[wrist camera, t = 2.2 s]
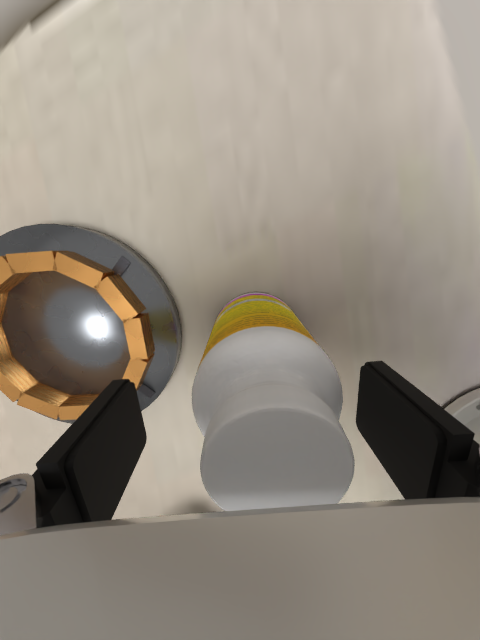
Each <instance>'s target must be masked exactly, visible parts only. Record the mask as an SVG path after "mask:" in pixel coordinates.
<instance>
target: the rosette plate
mask: <svg viewBox="0 0 480 640" xmlns="http://www.w3.org/2000/svg"><path fill="white" fill-rule="evenodd" d="M181 337H182V336H181V324H180V319H179V315H178V311H177V308H176V305H175V302H174V300H173V298H172V296H171V294H170V292H169V290H168V288H167V286H166V285H165V283H164V282H163V280H162V279H161V277H160V276H159V274H158V273H157V272H156V271H155V270H154V268H153V267H152V266H151V265H150V264H149V263H148V262H147V261H146V260H145V259H144V258H143V257H142V256H140V255H139V254H138V253H137V252H135V251H134V250H133V249H131V248H130V247H128V246H127V245H125V244H124V243H122V242H120V241H118V240H116V239H115V238H113V237H110V236H108V235H105V234H103V233H100V232H97V231H93V230H90V229H86V228H80V227H73V226H65V225H58V224H38V225H31V226H24V227H21V228H18V229H15V230H12V231H9V232H7V233H6V234H4V235H2V236H0V390H1V391H2V392H3V393H4V394H5V395H6V396H7V397H8V398H9V399H10V400H12V401H13V402H14V401H16V400H17V401H18V403H17V405H20V406H22V407H25V408H27V409H30V410H33V411H35V412H37V413H39V414H42V415H44V416H46V417H49V418H52V419H55V420H58V421H62V422H67V423H71V424H73V423H74V422H75V421H76V420H77V418H78V417H79V416H80V415H81V414H82V413H83V412H84V411H85V410H86V409H87V408H88V407H89V405H90V404H91V403H92V402H93V401H94V400H95V399H96V398H97V397H98V396H99V395H100V393H101V392H102V391H103V390H104V389H105V388H106V387H107V386H108V385H109V384H110V383H111V381H113V380H118V379H129V380H130V381H131V382H134V384H135V387H136V391H137V396H138V400H139V405H140V409H141V411H142V410H144V409H145V408H146V407H148V406H149V405H150V404H151V403H152V402H153V401H154V400H155V399H156V398H157V397H158V396H159V395H160V393H161V392H162V391H163V389H164V388H165V386H166V384H167V383H168V381H169V379H170V377H171V376H172V374H173V372H174V370H175V367H176V365H177V362H178V359H179V355H180V350H181Z"/></svg>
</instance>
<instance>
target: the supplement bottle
mask: <svg viewBox="0 0 480 640" xmlns="http://www.w3.org/2000/svg"><path fill="white" fill-rule="evenodd" d="M342 402H343V397H342V387H341V382H340V378H339V376H338V373H337V370H336V368H335V366H334V365H333V363H332V361H331V360H330V358H329V357H328V356H327V354H326V353H325V352H324V351H323V350H322V348H321V347H320V346H319V345H318V343H317V342H316V341H315V340H314V338H313V337H312V336H311V335H310V333H309V332H308V331H307V329H306V328H305V327H304V326H303V324H302V323H301V322H300V320H299V319H298V318H297V317H296V315H295V314H294V313H293V311H292V310H291V309H290V308H289V307H288V306H287V305H286V304H285V303H284V302H283V301H282V300H280V299H279V298H277V297H275V296H272V295H270V294H266V293H257V292H256V293H247V294H243V295H240V296H238V297H236V298H234V299H233V300H231V301H230V302H229V303H227V304H226V305H225V306H224V307H223V309H222V310H221V311H220V313H219V314H218V316H217V319H216V321H215V324H214V327H213V329H212V332H211V335H210V338H209V340H208V343H207V346H206V349H205V351H204V354H203V357H202V359H201V362H200V365H199V367H198V370H197V373H196V376H195V379H194V383H193V388H192V406H193V412H194V416H195V419H196V422H197V424H198V427H199V429H200V430H201V432H202V434H203V435H204V437H205V438H204V443H203V449H202V454H201V463H200V470H201V477H202V481H203V484H204V486H205V489H206V490H207V492H208V494H209V496H210V497H211V498H212V500H213V501H214V502H215V503H216V504H217V505H218V506H219V507H220V508H221V509H222V510H224V511H237V510H251V509H265V508H280V507H295V506H310V505H325V504H337V503H338V502H339V501H340V500H341V499H342V497H343V496H344V495H345V493H346V492H347V490H348V488H349V486H350V484H351V481H352V478H353V474H354V455H353V451H352V448H351V445H350V443H349V441H348V439H347V437H346V435H345V433H344V431H343V429H342V427H341V425H340V423H339V418H340V414H341V409H342Z"/></svg>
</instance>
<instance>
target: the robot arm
mask: <svg viewBox="0 0 480 640" xmlns="http://www.w3.org/2000/svg"><path fill="white" fill-rule="evenodd" d="M356 424H357V428H358V430H359V431H360V433H361V434H362V436H363V437H364V439H365V440H366V442H367V443H368V445H369V446H370V448H371V449H372V451H373V452H374V454H375V455H376V457H377V458H378V460H379V461H380V463H381V464H382V466H383V467H384V469H385V470H386V472H387V473H388V474H389V476H390V477H391V479H392V480H393V482H394V483H395V485H396V486H397V488H398V489H399V491H400V492H401V494H402V495H403V497H404V498H405V500H389V501H373V502H357V503H341V504H325V505H310V506H295V507H280V508H265V509H251V510H237V511H223V512H208V513H195V514H182V515H169V516H155V517H142V518H129V519H116V520H111V519H112V517H113V515H114V512H115V510H116V508H117V506H118V504H119V501H120V499H121V497H122V495H123V493H124V490H125V488H126V486H127V484H128V482H129V479H130V477H131V475H132V473H133V471H134V468H135V466H136V464H137V462H138V460H139V457H140V455H141V453H142V451H143V449H144V446H145V444H146V431H145V427H144V422H143V418H142V413H141V409H140V405H139V400H138V396H137V391H136V387H135V384H134V382H131V381H130V380H129V379H118V380H113V381H111V383H110V384H109V385H108V386H107V387H106V388H105V389H104V390H103V391H102V392H101V393H100V395H99V396H98V397H97V398H96V399H95V400H94V401H93V402H92V403H91V404H90V405H89V407H88V408H87V409H86V410H85V411H84V412H83V413H82V414H81V415H80V416H79V417H78V418H77V420H76V421H75V422H74V423H73V424H72V425H71V426H70V427H69V428H68V429H67V430H66V432H65V433H64V434H63V435H62V436H61V437H60V438H59V439H58V440H57V441H56V442H55V444H54V445H53V446H52V447H51V448H50V449H49V450H48V451H47V452H46V453H45V454H44V456H43V457H42V458H41V459H40V460H39V461H38V462H37V463H36V466H37V468H38V469H37V470H36V471H35V472H34V474H33V475H29V474H16V475H12V476H9V477H7V478H4V479H2V480H0V640H480V388H479V389H476V390H473V391H471V392H469V393H467V394H465V395H463V396H461V397H459V398H458V399H456V400H455V401H454V402H452V403H451V404H449V405H448V406H447V407H446V408H445V409H443V408H442V407H440V406H439V405H438V404H437V403H435V402H434V401H433V400H431V399H430V398H429V397H428V396H426V395H425V394H424V393H422V392H421V391H420V390H419V389H417V388H416V387H415V386H414V385H412V384H411V383H410V382H408V381H407V380H406V379H405V378H403V377H402V376H401V375H399V374H398V373H397V372H396V371H394V370H393V369H392V368H390V367H389V366H388V365H387V364H385V363H384V362H382V361H374V362H366V363H365V365H364V366H362V367H361V370H360V381H359V392H358V403H357V414H356Z"/></svg>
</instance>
